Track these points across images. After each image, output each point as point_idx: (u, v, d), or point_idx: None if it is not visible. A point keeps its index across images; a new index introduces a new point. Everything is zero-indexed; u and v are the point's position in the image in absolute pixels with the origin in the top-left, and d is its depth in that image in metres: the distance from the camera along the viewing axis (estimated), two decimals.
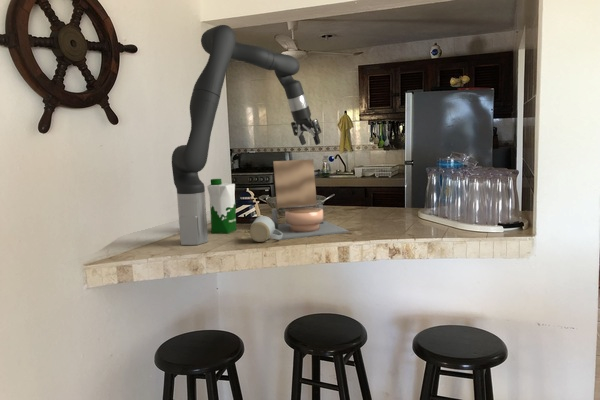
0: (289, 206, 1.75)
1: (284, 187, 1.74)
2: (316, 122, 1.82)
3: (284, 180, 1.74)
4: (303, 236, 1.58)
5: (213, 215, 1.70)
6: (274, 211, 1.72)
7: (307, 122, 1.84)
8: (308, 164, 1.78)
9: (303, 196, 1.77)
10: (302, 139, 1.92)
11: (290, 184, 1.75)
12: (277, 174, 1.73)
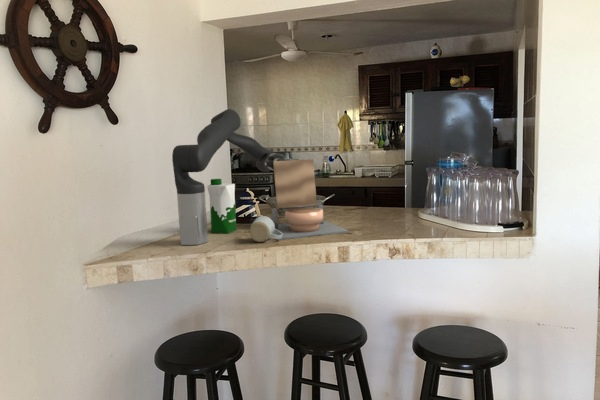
0: (289, 206, 1.75)
1: (284, 187, 1.74)
2: None
3: (284, 180, 1.74)
4: (303, 236, 1.58)
5: (213, 215, 1.70)
6: (274, 211, 1.72)
7: None
8: (308, 164, 1.78)
9: (303, 196, 1.77)
10: None
11: (290, 184, 1.75)
12: (277, 174, 1.73)
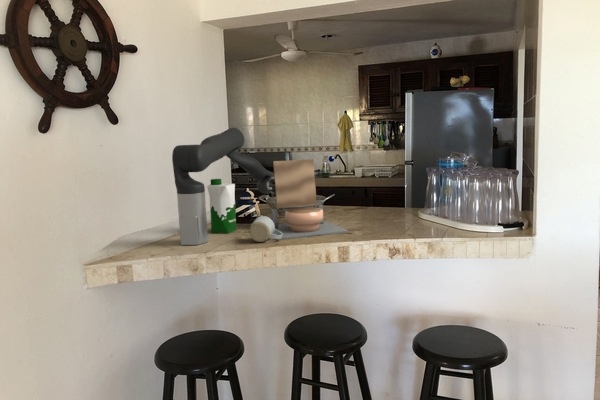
0: (289, 206, 1.75)
1: (284, 187, 1.74)
2: None
3: (284, 180, 1.74)
4: (303, 236, 1.58)
5: (213, 215, 1.70)
6: (274, 211, 1.72)
7: None
8: (308, 164, 1.78)
9: (303, 196, 1.77)
10: None
11: (290, 184, 1.75)
12: (277, 174, 1.73)
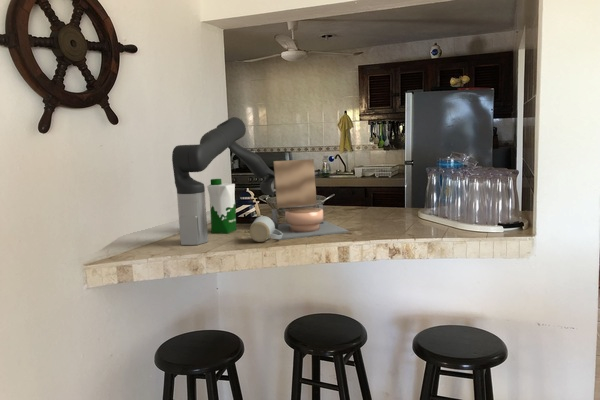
0: (289, 206, 1.75)
1: (284, 187, 1.74)
2: None
3: (284, 180, 1.74)
4: (303, 236, 1.58)
5: (213, 215, 1.70)
6: (274, 211, 1.72)
7: None
8: (308, 164, 1.77)
9: (303, 196, 1.76)
10: None
11: (290, 184, 1.75)
12: (277, 174, 1.73)
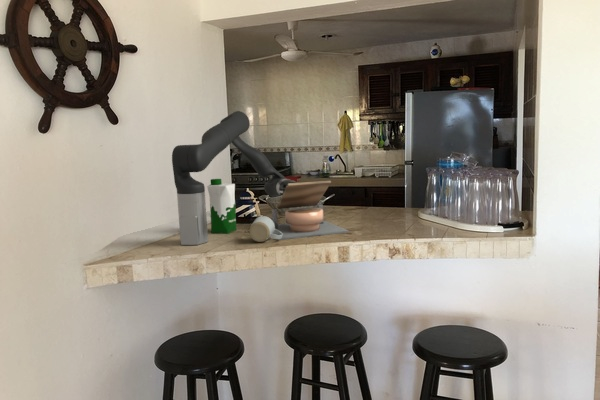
0: (289, 207, 1.74)
1: (290, 198, 1.68)
2: None
3: (292, 195, 1.65)
4: (303, 236, 1.58)
5: (213, 215, 1.70)
6: (274, 211, 1.72)
7: None
8: (324, 185, 1.64)
9: (307, 201, 1.73)
10: None
11: (298, 196, 1.68)
12: (288, 192, 1.62)
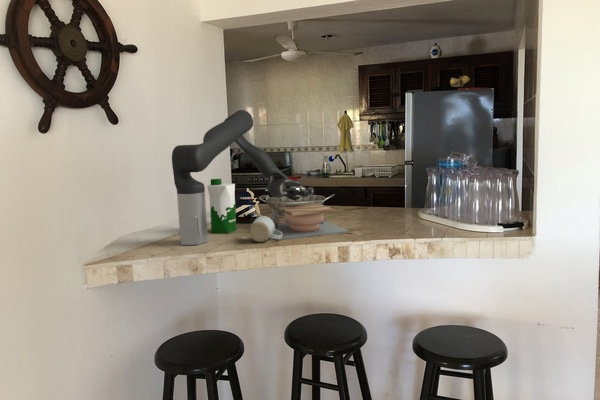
0: None
1: None
2: (312, 191, 1.75)
3: None
4: (303, 236, 1.58)
5: (213, 215, 1.70)
6: (274, 211, 1.72)
7: None
8: None
9: None
10: None
11: None
12: None
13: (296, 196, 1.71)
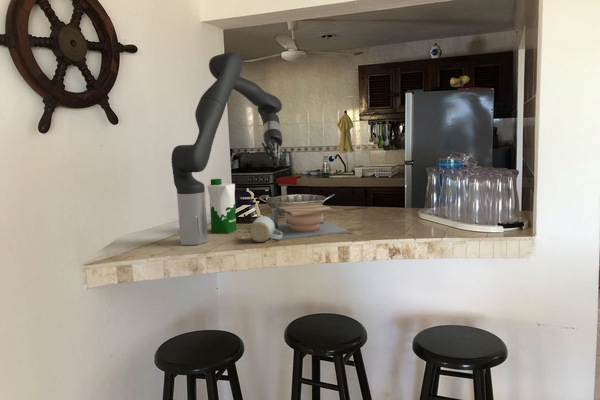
0: None
1: None
2: None
3: None
4: (303, 236, 1.58)
5: (213, 215, 1.70)
6: (274, 211, 1.72)
7: None
8: None
9: None
10: None
11: None
12: None
13: None
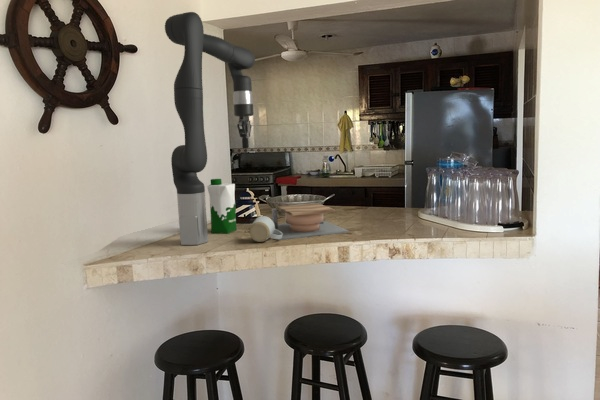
0: None
1: None
2: None
3: None
4: (303, 236, 1.58)
5: (213, 215, 1.70)
6: (274, 211, 1.72)
7: None
8: None
9: None
10: None
11: None
12: None
13: None
